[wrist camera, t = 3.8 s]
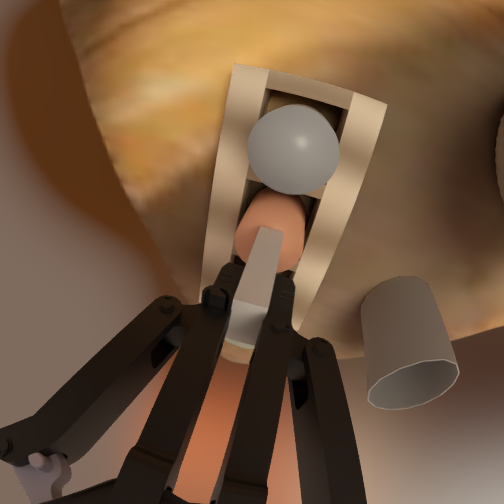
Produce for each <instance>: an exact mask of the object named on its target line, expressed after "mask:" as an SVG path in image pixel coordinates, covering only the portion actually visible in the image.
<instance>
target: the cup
mask: <svg viewBox="0 0 504 504" xmlns="http://www.w3.org/2000/svg"><path fill="white" fill-rule="evenodd" d="M361 323H362V332H363V342H364V353H365V365H366V380H367V400H368V401H369V402H370V403H371V404H372V405H373V406H374V407H377V408H381V409H387V410H397V409H407V408H411V407H414V406H418V405H421V404H425V403H427V402H429V401H431V400H433V399H434V398H436V397H438V396H440V395H442V394H443V393H444V392H445V391H446V390H447V389H449V388H450V387H451V386H452V385H453V384H454V383H455V381H456V379H457V377H458V375H459V373H460V372H459V368H458V365H457V362H456V358H455V355H454V352H453V348H452V346H451V342H450V339H449V336H448V333H447V331H446V328H445V325H444V322H443V320H442V317H441V314H440V312H439V309H438V307H437V304H436V302H435V299H434V297H433V294H432V292H431V290H430V288H429V285H428V284H427V283H425V282H424V281H422V280H420V279H419V278H417V277H404V276H399V277H396V278H393V279H390V280H387V281H384V282H382V283H380V284H379V285H378V286H377V287H375V288H374V289H373V290H372V291H370V292H369V293H368V294H367V296H366V298H365V300H364V301H363V303H362V305H361Z"/></svg>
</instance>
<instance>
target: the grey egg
mask: <svg viewBox="0 0 504 504" xmlns="http://www.w3.org/2000/svg"><path fill="white" fill-rule="evenodd" d="M247 153H248V159H249V163H250V165H251V168H252V169H253V171H254V173H255V174H256V176H257V177H258V178H259V179H260V180H261V181H262V182H263V183H264V184H265V185H267V186H268V187H270V188H271V189H273V190H276V191H278V192H281V193H285V194H292V195H300V194H306V193H310V192H312V191H315V190H317V189H319V188H320V187H322V186H323V185H324V184H326V183H327V182H328V181H329V180H330V178H331V177H332V176H333V174H334V172H335V171H336V168H337V166H338V162H339V156H340V148H339V142H338V139H337V136H336V134H335V132H334V130H333V129H332V127H331V126H330V124H329V123H328V121H327V120H326V118H325V117H324V116H323V115H322V114H321V113H320V112H319V111H318V110H316V109H315V108H313V107H311V106H308V105H304V104H288V105H285V106H282V107H280V108H277V109H275V110H273V111H271V112H269V113H267V114H265V115H264V116H263V117H262V118H260V119H259V120H258V122H257V123H256V124H255V125H254V127H253V129H252V130H251V133H250V135H249V139H248V144H247Z"/></svg>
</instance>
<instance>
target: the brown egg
mask: <svg viewBox="0 0 504 504" xmlns="http://www.w3.org/2000/svg"><path fill="white" fill-rule="evenodd" d="M305 216H306V210H305V205H304V203H303V201H302V199H301V198H300V196H299V195H292V194H285V193H281V192H278V191H276V190H273V189H271V188H270V187H266V188H264V189H262V190H260V191H259V192H258V193H257V194H256V195H255V196H254V198H253V199H252V201H251V203H250V205H249V207H248V209H247V211H246V213H245V215H244V217H243V218H242V220H241V222H240V224H239V226H238V228H237V230H236V233H235V238H234V243H235V248H236V251H237V253H238V255H239V256H240V258H241V259H242V260H243V261H244V262H245V263H247V261H248V258H249V255H250V253H251V250H252V247H253V245H254V242H255V239H256V237H257V234H258V231H259V229H260V226H263V227H267V228H270V229H274V230H277V231H281V232H284V237H283V242H282V247H281V252H280V257H279V262H278V266H277V271H276V273H278V272H283V271H286V270H288V269H290V268H291V267H293V266H294V265H295V264H296V263H297V262H298V261H299V259H300V257H301V255H302V252H303V245H304V231H305Z"/></svg>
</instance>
